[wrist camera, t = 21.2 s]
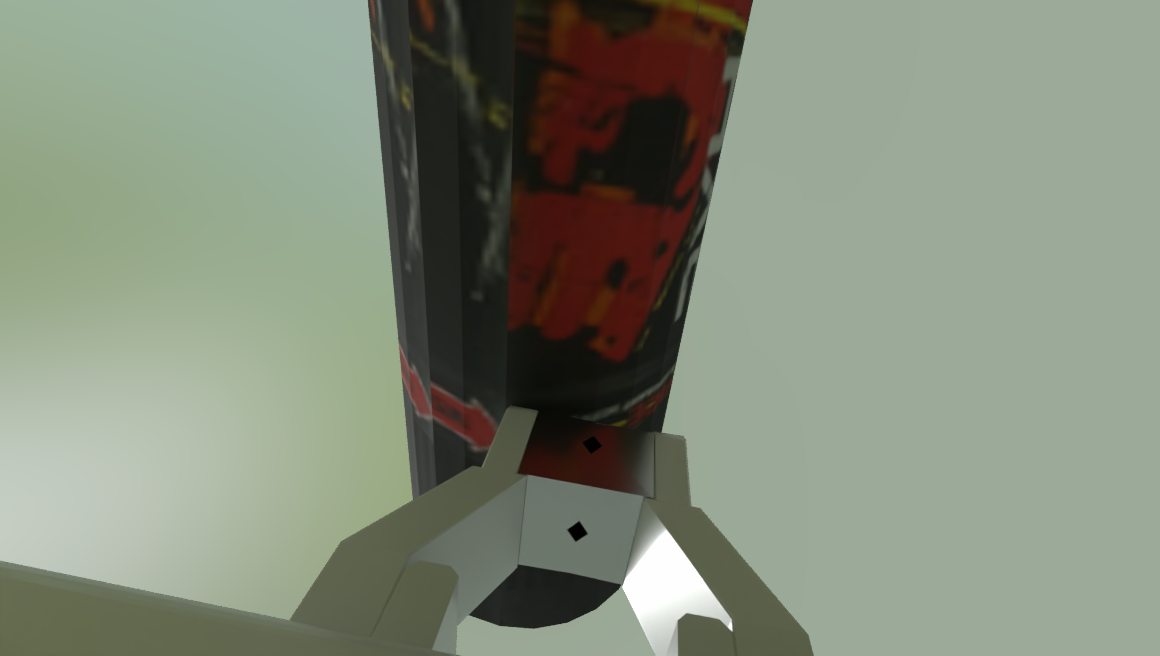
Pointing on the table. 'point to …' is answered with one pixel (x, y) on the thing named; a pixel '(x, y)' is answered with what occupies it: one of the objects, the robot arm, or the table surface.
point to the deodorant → (545, 221)
